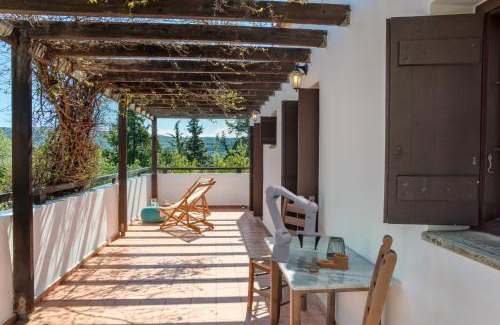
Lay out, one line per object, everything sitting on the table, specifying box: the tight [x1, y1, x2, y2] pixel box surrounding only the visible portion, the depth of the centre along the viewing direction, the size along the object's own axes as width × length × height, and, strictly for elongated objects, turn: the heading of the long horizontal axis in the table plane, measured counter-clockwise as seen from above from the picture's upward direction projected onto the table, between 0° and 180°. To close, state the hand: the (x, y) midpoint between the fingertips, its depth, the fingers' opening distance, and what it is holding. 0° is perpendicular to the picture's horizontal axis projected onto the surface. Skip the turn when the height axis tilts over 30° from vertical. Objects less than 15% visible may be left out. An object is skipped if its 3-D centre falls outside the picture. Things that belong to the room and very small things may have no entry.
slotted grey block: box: [307, 256, 320, 274], centre depth 210 cm, size 3×5×7 cm, turn 73°
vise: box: [297, 255, 319, 269], centre depth 218 cm, size 10×11×5 cm
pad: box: [306, 269, 321, 276], centre depth 210 cm, size 6×6×1 cm
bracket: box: [317, 253, 349, 271], centre depth 222 cm, size 18×8×7 cm, turn 84°
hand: (308, 248), depth 221 cm, fingers open, 7 cm apart
